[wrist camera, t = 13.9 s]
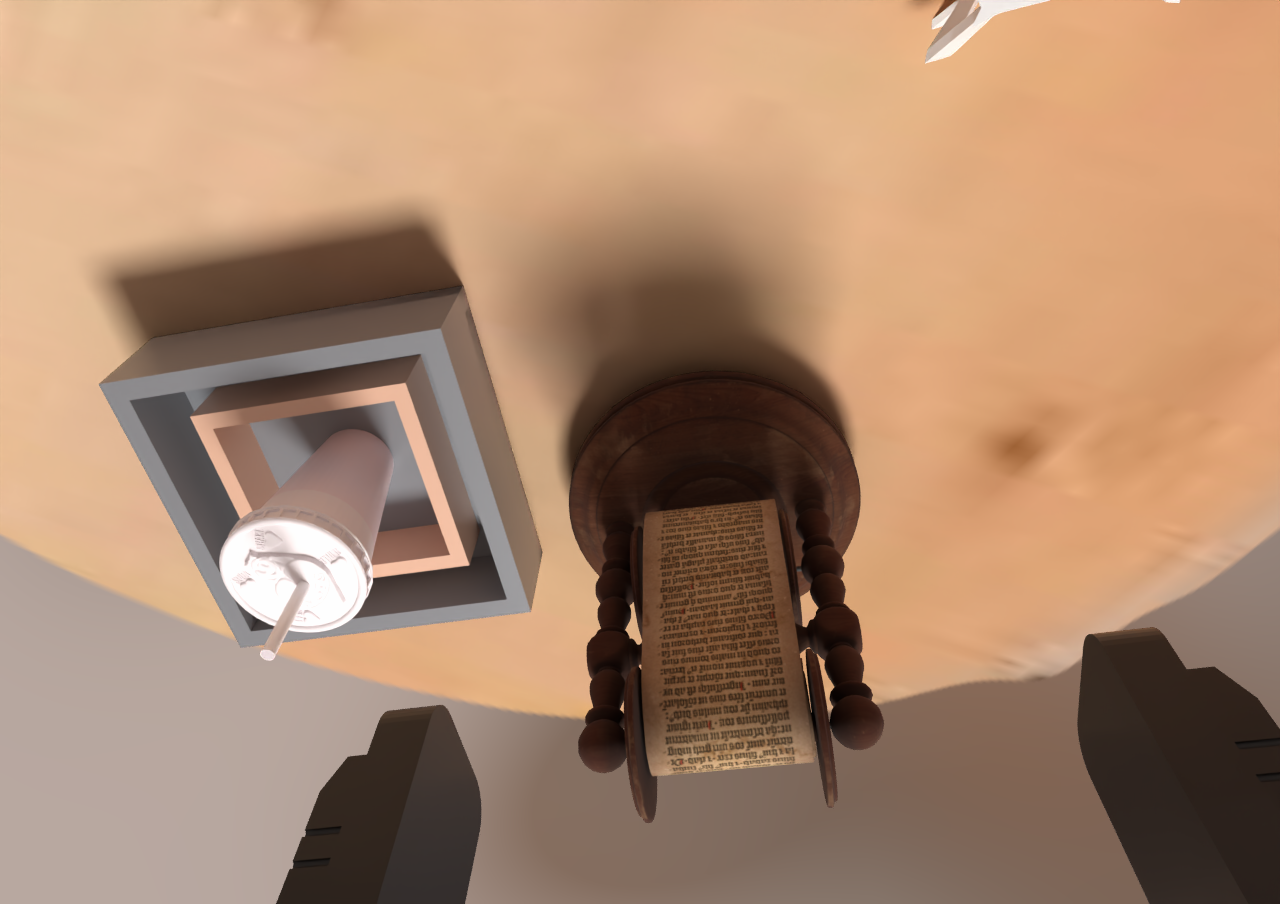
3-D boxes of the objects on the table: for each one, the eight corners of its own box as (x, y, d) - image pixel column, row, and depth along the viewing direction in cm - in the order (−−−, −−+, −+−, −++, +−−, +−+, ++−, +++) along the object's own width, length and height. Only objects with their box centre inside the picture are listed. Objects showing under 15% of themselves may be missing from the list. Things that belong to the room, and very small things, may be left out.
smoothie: (390, 529, 50) (302, 729, 38) (277, 476, 49) (149, 667, 37) (440, 443, 48) (361, 630, 36) (321, 383, 46) (198, 558, 34)
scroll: (844, 337, 45) (950, 614, 28) (858, 575, 52) (948, 909, 35) (546, 379, 47) (472, 664, 30) (601, 604, 54) (568, 936, 37)
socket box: (151, 337, 46) (98, 384, 42) (463, 285, 44) (440, 328, 40) (275, 587, 54) (240, 647, 50) (542, 552, 52) (530, 611, 48)
